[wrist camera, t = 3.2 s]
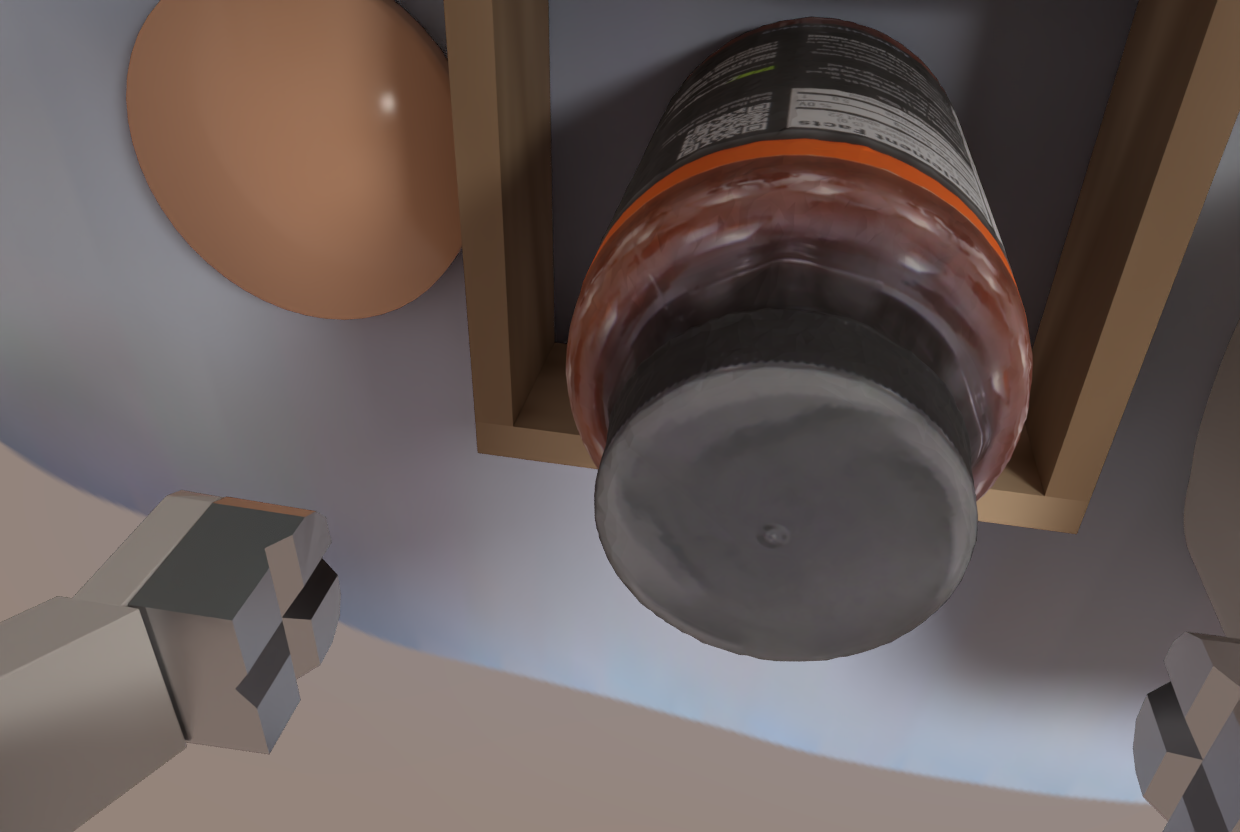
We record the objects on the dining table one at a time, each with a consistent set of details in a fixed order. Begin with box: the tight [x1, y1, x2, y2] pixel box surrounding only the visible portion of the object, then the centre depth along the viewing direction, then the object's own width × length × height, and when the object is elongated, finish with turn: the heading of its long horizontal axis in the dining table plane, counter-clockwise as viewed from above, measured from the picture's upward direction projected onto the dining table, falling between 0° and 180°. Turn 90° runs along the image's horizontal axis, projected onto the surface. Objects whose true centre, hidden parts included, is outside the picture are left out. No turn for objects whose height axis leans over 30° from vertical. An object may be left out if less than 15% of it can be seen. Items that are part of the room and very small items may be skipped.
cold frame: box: [443, 0, 1240, 534], centre depth 12 cm, size 12×16×14 cm
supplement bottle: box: [566, 17, 1033, 661], centre depth 15 cm, size 6×6×11 cm
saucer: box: [126, 0, 462, 320], centre depth 21 cm, size 8×8×1 cm
